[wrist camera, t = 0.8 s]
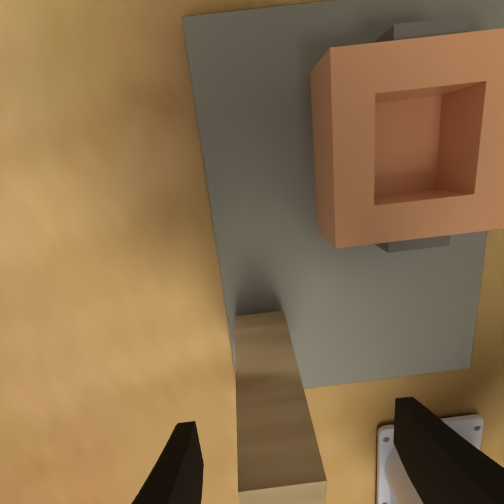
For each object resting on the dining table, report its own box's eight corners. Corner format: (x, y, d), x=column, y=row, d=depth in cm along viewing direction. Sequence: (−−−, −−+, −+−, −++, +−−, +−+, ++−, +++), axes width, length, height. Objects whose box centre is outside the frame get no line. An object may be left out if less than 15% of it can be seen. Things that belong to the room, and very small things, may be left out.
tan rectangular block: (285, 346, 19) (325, 521, 11) (240, 352, 19) (247, 531, 11) (283, 310, 18) (326, 480, 10) (234, 316, 18) (238, 492, 10)
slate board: (459, 359, 21) (470, 368, 21) (239, 386, 21) (239, 396, 20) (500, -9, 15) (518, -21, 14) (185, 26, 15) (181, 16, 14)
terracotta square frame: (456, 225, 18) (506, 240, 14) (317, 242, 17) (336, 260, 14) (473, 40, 15) (540, 6, 12) (309, 58, 15) (329, 29, 11)
